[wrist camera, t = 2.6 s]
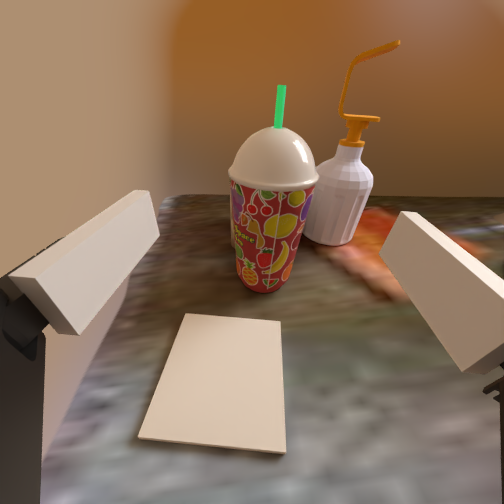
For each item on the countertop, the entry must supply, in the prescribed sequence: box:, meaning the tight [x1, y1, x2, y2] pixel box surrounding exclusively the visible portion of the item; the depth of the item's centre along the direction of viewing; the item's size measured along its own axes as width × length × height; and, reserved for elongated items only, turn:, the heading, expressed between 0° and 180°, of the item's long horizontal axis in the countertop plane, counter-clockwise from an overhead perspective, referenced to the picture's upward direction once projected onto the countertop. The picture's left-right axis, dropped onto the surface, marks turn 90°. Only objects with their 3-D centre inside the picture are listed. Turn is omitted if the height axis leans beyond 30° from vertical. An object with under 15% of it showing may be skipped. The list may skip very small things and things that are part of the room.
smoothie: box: [228, 85, 319, 293], centre depth 22 cm, size 8×8×20 cm
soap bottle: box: [302, 40, 400, 245], centre depth 30 cm, size 9×9×25 cm
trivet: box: [138, 313, 286, 454], centre depth 18 cm, size 10×10×1 cm
